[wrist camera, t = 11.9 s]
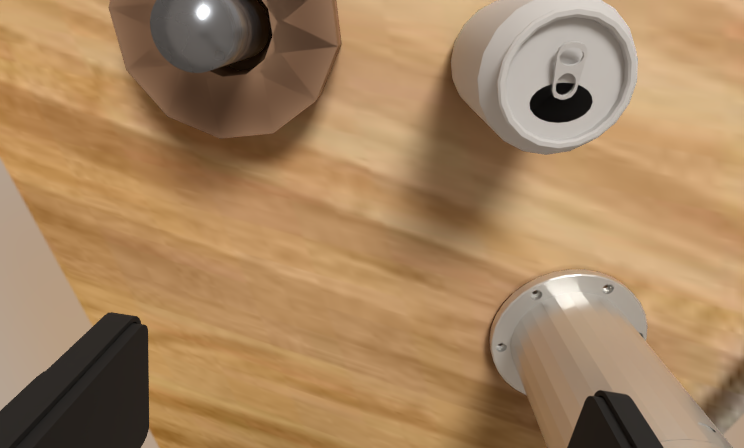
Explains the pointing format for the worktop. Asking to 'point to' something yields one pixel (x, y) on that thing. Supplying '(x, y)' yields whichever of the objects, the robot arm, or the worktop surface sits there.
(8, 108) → the worktop surface
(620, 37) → the can
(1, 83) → the worktop surface
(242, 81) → the bead
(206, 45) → the peg
